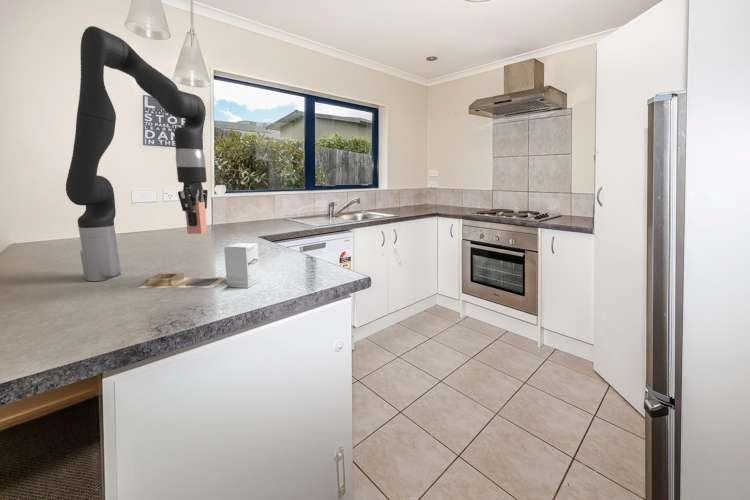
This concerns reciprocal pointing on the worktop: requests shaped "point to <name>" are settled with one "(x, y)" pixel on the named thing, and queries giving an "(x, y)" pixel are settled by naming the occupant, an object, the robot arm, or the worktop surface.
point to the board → (180, 281)
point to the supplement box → (242, 265)
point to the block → (198, 220)
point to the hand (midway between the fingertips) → (196, 224)
